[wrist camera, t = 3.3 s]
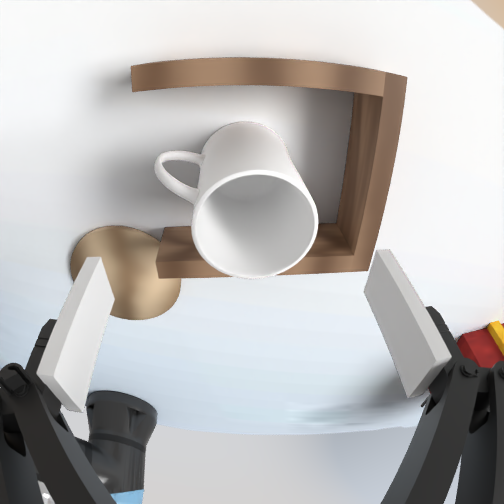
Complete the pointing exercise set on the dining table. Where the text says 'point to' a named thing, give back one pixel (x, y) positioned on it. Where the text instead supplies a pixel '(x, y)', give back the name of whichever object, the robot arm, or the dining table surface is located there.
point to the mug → (246, 202)
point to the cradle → (357, 163)
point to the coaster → (128, 271)
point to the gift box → (484, 345)
